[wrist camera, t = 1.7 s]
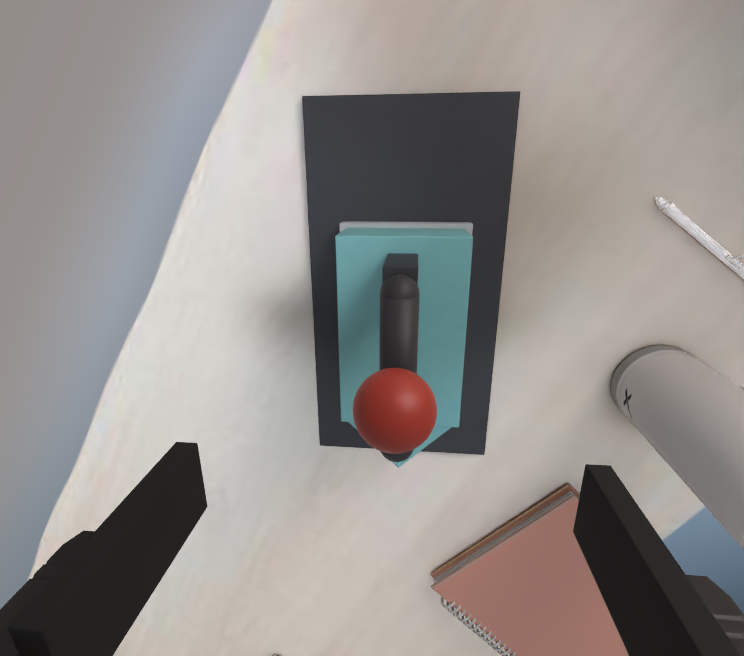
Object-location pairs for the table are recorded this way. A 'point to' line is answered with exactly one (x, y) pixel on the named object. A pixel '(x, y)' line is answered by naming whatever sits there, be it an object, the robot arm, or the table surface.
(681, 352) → the travel mug
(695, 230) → the picture light
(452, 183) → the ironing mat
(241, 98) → the table surface
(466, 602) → the notebook
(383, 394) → the iron
